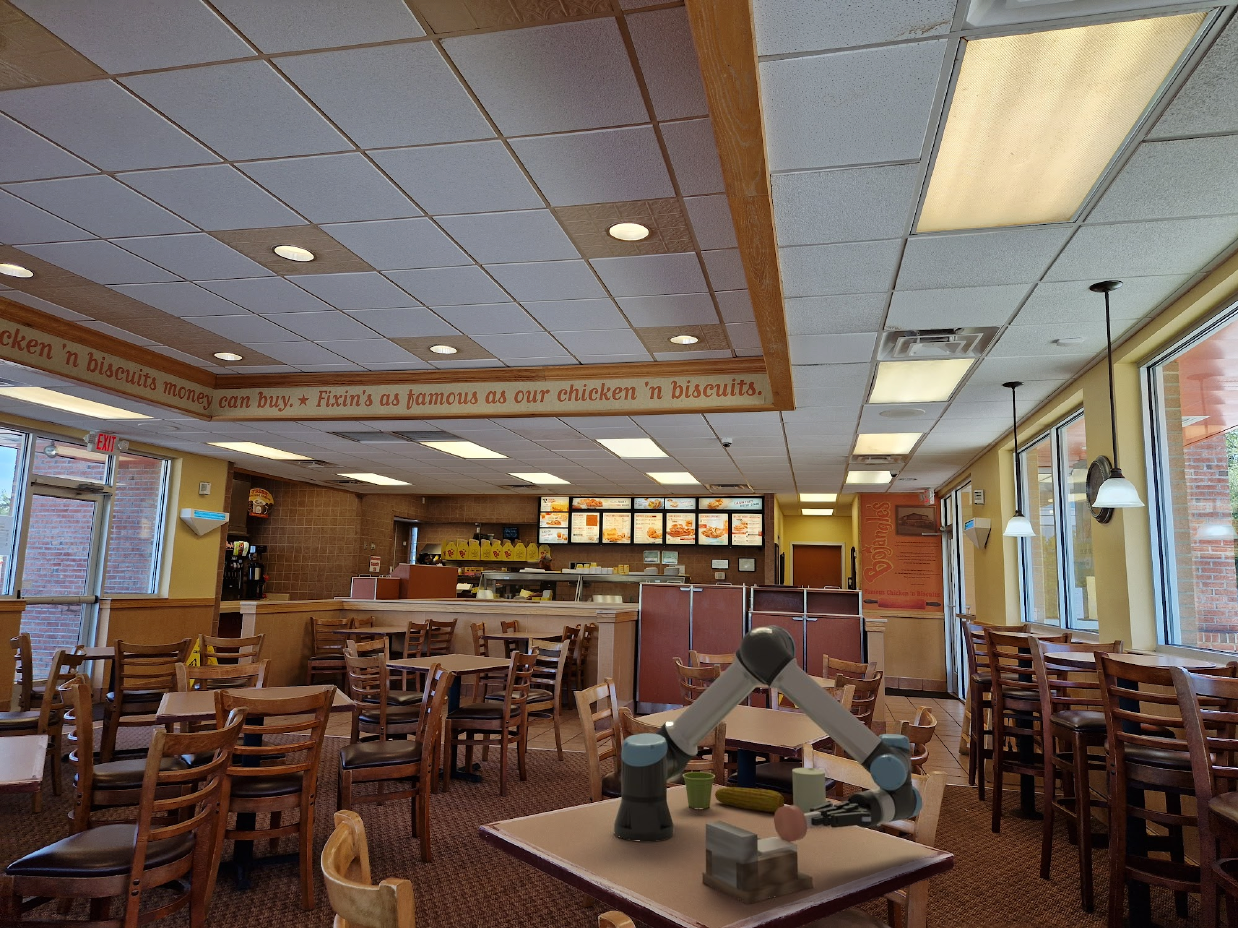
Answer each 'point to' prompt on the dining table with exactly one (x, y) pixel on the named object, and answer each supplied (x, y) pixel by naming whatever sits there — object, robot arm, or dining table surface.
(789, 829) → the plunger
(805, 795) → the can
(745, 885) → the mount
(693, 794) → the plant pot
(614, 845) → the dining table surface
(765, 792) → the food
